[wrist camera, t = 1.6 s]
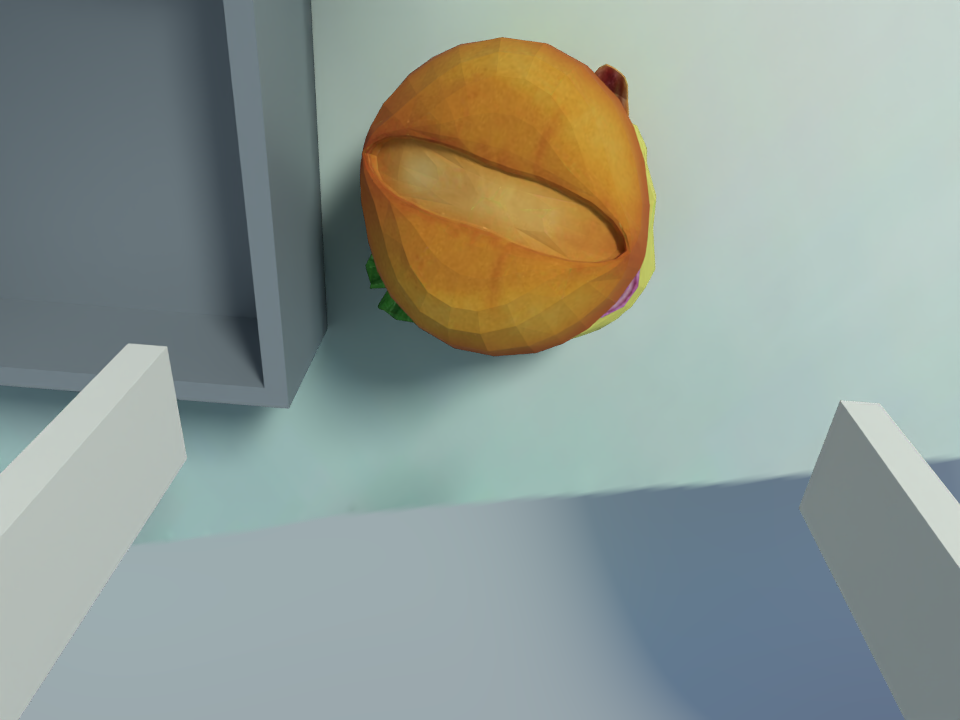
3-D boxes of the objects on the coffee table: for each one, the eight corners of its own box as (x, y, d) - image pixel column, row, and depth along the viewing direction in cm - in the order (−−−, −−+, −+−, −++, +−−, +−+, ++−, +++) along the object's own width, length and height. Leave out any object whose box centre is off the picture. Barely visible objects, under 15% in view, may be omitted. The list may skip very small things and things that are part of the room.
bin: (-274, -225, 22) (-520, -274, 17) (301, -181, 22) (233, -217, 16) (-79, 296, 31) (-200, 369, 26) (327, 329, 31) (288, 408, 26)
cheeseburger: (433, 354, 31) (372, 451, 22) (360, 103, 28) (252, 86, 19) (669, 302, 29) (715, 382, 20) (614, 26, 26) (637, -37, 17)
